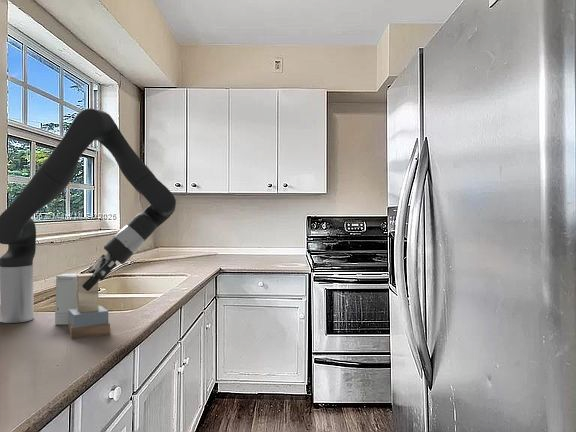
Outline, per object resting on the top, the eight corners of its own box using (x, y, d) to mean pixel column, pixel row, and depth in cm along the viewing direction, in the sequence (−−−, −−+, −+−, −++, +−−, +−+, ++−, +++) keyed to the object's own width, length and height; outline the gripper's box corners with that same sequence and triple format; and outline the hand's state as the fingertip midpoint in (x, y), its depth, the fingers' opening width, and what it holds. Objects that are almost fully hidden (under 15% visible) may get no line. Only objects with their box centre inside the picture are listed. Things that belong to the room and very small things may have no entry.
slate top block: (68, 321, 146) (67, 309, 145) (100, 317, 150) (100, 305, 150) (74, 327, 138) (74, 315, 138) (108, 323, 143) (108, 310, 143)
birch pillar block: (76, 309, 145) (76, 274, 145) (95, 307, 148) (94, 273, 147) (79, 312, 141) (79, 276, 140) (98, 310, 143) (98, 275, 143)
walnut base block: (68, 332, 147) (68, 320, 147) (105, 328, 151) (104, 316, 151) (71, 340, 138) (71, 328, 138) (110, 336, 143) (110, 323, 142)
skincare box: (54, 325, 153) (53, 276, 153) (62, 320, 159) (61, 273, 159) (82, 324, 154) (82, 275, 153) (89, 320, 160) (89, 273, 159)
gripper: (110, 234, 154) (70, 274, 149) (119, 237, 141) (75, 281, 136) (129, 250, 156) (90, 291, 151) (138, 255, 144) (96, 299, 139)
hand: (83, 286), depth 144 cm, fingers open, 8 cm apart
